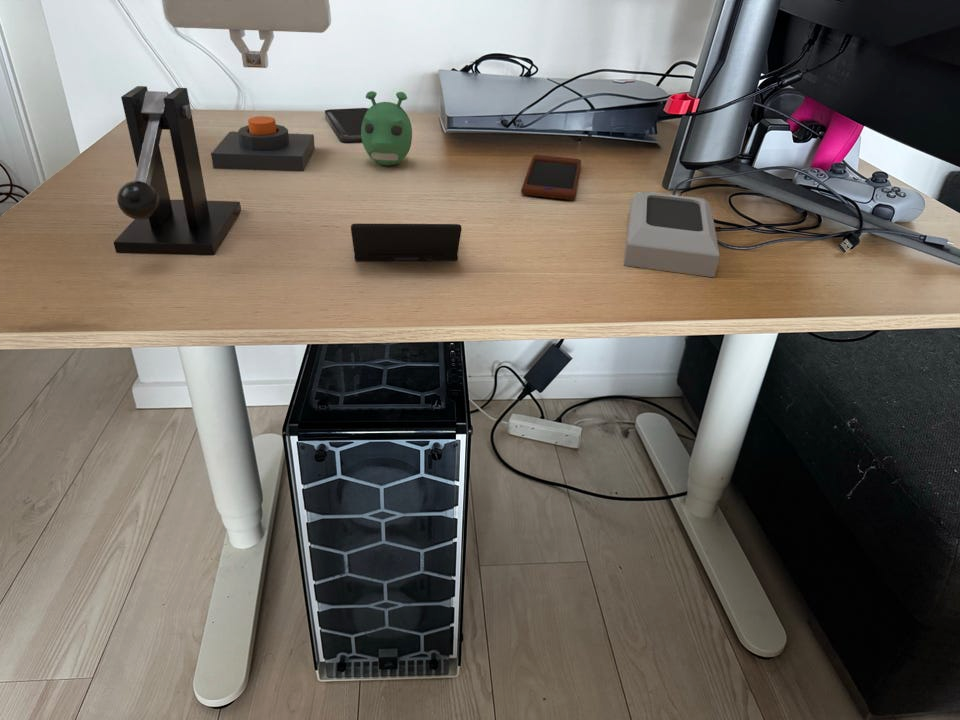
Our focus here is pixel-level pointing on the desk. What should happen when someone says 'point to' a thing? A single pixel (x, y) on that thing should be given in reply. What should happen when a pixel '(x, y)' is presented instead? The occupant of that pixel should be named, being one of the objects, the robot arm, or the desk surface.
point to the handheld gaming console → (406, 242)
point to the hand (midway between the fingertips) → (256, 66)
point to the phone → (346, 123)
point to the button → (262, 125)
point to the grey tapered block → (671, 234)
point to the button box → (264, 151)
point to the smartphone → (552, 177)
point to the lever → (146, 161)
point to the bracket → (194, 217)
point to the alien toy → (386, 131)
